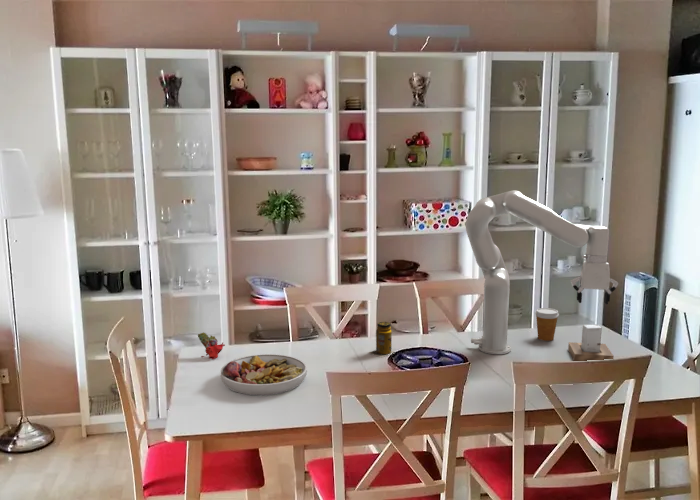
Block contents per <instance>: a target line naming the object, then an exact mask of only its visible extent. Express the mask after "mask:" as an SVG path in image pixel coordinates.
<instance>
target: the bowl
mask: <svg viewBox="0 0 700 500" xmlns="http://www.w3.org/2000/svg"><path fill="white" fill-rule="evenodd" d="M307 373H308V366H307V364H306V362H304V361H302V360H301V359H299V358H296V357H294V356H290V355H284V354H276V353H274V354H272V353H270V354H267V353H266V354H265V353H263V354H254V355H253V354H252V355H247V356H243V357H239V358H238V357H237V358H235V359H233V360H231V361H228V362H227V363H225V364H224V365H223V366H222V367H221V369H220V379H221V380H222V381H221V382H222V383H223V385H225V386H226V388H228V389H229V390H231V391H233V392H235V393H239V394H242V395H248V396H270V395H277V394H282V393H285V392H288V391H291V390H293V389H295V388H297V387H298V386H300V385H301V384H302V383H303V382H304V380H305V378H307V377H306V376H307Z"/></svg>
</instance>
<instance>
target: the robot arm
mask: <svg viewBox="0 0 700 500" xmlns="http://www.w3.org/2000/svg"><path fill="white" fill-rule="evenodd" d="M508 214H510V215H512V216H514V217H516V218H518V219H520V220H522V221H524V222H525V223H527V224H530V225H532V226H534V227H535V228H537V229H539V230H540V231H542V232H544V233H546V234H548V235H550V236H552V237H554V238H555V239H557V240H559V241H561V242H563V243H565V244H567V245H569V246H572V247H573V248H582V247H585V246H586V250H585V251H586V252H585V254H584V255H583V254H582V255H581V259H582V260H584V261H583V262H582V267H581V272H580V276H576V277H575V278H573V279H570V283H571V286H572V287H573V289H574V290H575V291H576V301H577V302H578V303H579V304H582V302H583V301H582V298H583V297H582V296H583V292H582V291H583V290H584V289H586V290H601V291H603V290H605V292H604V297H603V298H604V300H603V303H604V304H605V305H608V304H609V302H610V299H611V294H612V293H613V292H614V291H615V290H616V288H617V287H618V286H619V282H618V281H616V280H615V279H613V278H611V274H610V271H611V270H610V263H609V262H607V261H608V252H609V251H608V249H609V237H610V229H609V228H608V227H607V226H604V225H587V224H586V225H585V224H580V223H572V222H571V221H568V220H566V218H565V219H564V218H563V217H561V216H560V215H558V214H557V213H556V212H555V211H554V210H552V209H551V208H550V207H547V206H546V205H544V204H541V203H540V202H537V201H536V200H534V199H532V198H530V197H527V196H525V195H524V194H523V193H522V192H521V191H519V190H516V189H515V190H508V191H505V192H502V193H499V194H498V193H497V194H495V195H490V196H487V197H483V198H480V199H479V200H478V201H477V202H476V203H475V205H474V207H473V208H472V209H471V210H470V211H469V213H468V215H467V217H466V221H465V231H466V235H467V238H468V240H469V243H470V248H471V250H472V253H473V255H474V257H475V259H474V260H475V262H476V264H477V266H478V267H479V268H480V270H481V272H482V274H483V277H484V283H483V285H484V286H483V321H482V323H483V325H482V335H481V337H479V338H475V337H474V338H473V337H471V338H470V343H471V344H474V345H478V349H479V351H480V352H483V353H485V354H490V355H504V354H508V353H509V352H511V350H512V347H511V346H510V345H509V344H508V327H509V326H508V325H509V303H510V288H511V287H510V286H511V285H510V284H511V282H510V281H511V280H510V275H509V271H508V268H507V266H506V263H505V261H504V258H503V256H502V252H501V250H500V248H499V247H498V246H497V245H496V244H495V242H494V240H493V238H492V234H491V232H490V230H489V223H490V222H491V221H492V220H493V219H495V218H496V217H500V216H504V215H508ZM578 282H579V285H577V284H576V283H578ZM610 283H612V286H610Z"/></svg>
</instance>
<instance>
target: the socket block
mask: <svg viewBox="0 0 700 500" xmlns="http://www.w3.org/2000/svg"><path fill="white" fill-rule="evenodd" d="M581 343H582V342H568V346H567V347H568V349H567V351H569V354H570V356H571V359H572V361H573V362H574V361H587V360H604V359H613V360H614V354H613V353H612V351H611V350H610V349H609V347H608V346H607V344H606V343H601V346H600V353H597V352H583V351H582V349H581Z"/></svg>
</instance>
